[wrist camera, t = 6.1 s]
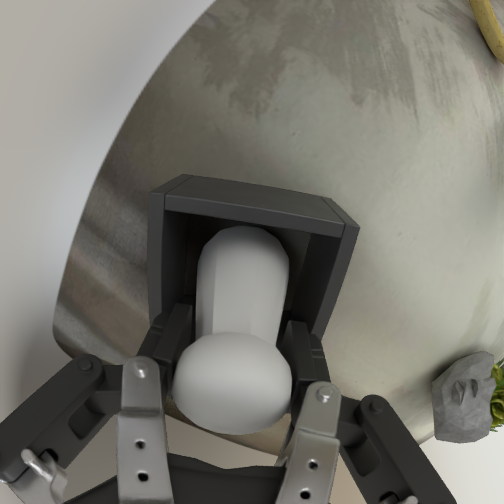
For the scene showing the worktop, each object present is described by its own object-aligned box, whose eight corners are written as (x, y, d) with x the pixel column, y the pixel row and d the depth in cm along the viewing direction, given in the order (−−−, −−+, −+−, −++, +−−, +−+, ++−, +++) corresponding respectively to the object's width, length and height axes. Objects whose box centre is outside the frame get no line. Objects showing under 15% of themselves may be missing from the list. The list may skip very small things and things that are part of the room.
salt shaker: (190, 262, 20) (123, 411, 8) (233, 198, 18) (185, 323, 6) (256, 301, 21) (252, 460, 9) (302, 245, 19) (353, 400, 8)
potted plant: (433, 371, 21) (546, 327, 14) (422, 363, 31) (509, 334, 25) (433, 474, 16) (546, 428, 9) (425, 438, 26) (512, 409, 20)
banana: (442, -15, 9) (465, -28, 6) (454, -17, 9) (477, -29, 5) (501, 80, 12) (530, 79, 9) (510, 73, 12) (538, 73, 8)
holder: (174, 300, 22) (151, 351, 16) (182, 173, 18) (149, 191, 12) (297, 319, 22) (307, 374, 17) (331, 198, 18) (360, 226, 13)
